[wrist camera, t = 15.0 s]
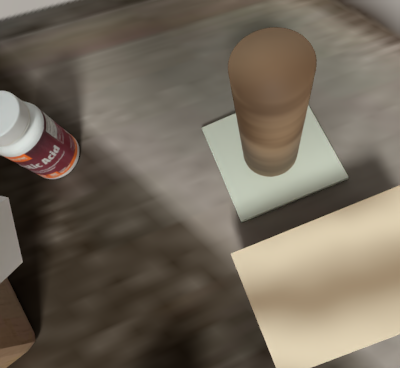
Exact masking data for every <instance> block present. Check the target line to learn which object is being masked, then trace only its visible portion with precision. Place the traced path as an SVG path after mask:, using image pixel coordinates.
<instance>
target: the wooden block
mask: <svg viewBox="0 0 400 368" xmlns="http://www.w3.org/2000/svg"><path fill="white" fill-rule="evenodd" d="M34 342H35V333H34V331H33V329H32V327H31V325H30V323H29V321H28V319H27V317H26V315H25V313H24V311H23V309H22V307H21V305H20V303H19V301H18V299H17V297H16V295H15V292H14V290H13V288H12V286H11V284H10V282H9V280H8V278H6V279H4V280H3V281H2V282H1V283H0V368H7V367H8V366H9V365H11V364H12V363H13V362H14V361H16V360H17V359H18V358H19V357H21V356H22V355H23V354H25V353H26V352H27V351H28V350H29V349H30V348H31V347H32V345H33V344H34Z"/></svg>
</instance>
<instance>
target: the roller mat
mask: <svg viewBox="0 0 400 368" xmlns="http://www.w3.org/2000/svg"><path fill="white" fill-rule="evenodd" d="M202 130H203V133H204V135H205V137H206V140H207V142H208V144H209V147H210V149H211V152H212V154H213V156H214V159H215V161H216V163H217V166H218V168H219V171H220V173H221V175H222V178H223V180H224V182H225V185H226V187H227V190H228V192H229V194H230V197H231V199H232V201H233V204H234V206H235V208H236V211H237V213H238V216H239V218H240V220H241V223H242V222H244V221H247V220H249V219H252V218H254V217H257V216H259V215H262V214H264V213H266V212H269V211H271V210H274V209H276V208H279V207H281V206H283V205H286V204H288V203H291V202H293V201H296V200H298V199H301V198H303V197H305V196H308V195H310V194H313V193H315V192H318V191H320V190H323V189H325V188H327V187H330V186H332V185H335V184H337V183H340V182H342V181H345V180H347V179H348V178H349V177H348V175H347V173H346V171H345V170H344V168H343V166H342V164H341V162H340V161H339V159H338V157H337V155H336V153H335V152H334V150H333V148H332V146H331V145H330V143H329V141H328V139H327V137H326V136H325V134H324V132H323V130H322V128H321V127H320V125H319V123H318V121H317V120H316V118H315V116H314V114H313V112H312V111H311V109H310V107H309V105H308V108H307V113H306V117H305V122H304V126H303V131H302V136H301V140H300V145H299V150H298V154H297V158H296V161H295V163H294V165H293V166H292V167H291V168H290V169H289V170H288V171H287V172H285V173H283V174H281V175H278V176H274V177H266V176H262V175H259V174H257V173H255V172H253V171H252V170H251V169H250V168H249V167H248V166H247V164H246V162H245V160H244V156H243V150H242V145H241V139H240V134H239V128H238V123H237V117H236V113H235V114H232V115H230V116H228V117H225V118H223V119H221V120H218V121H216V122H214V123H211V124H209V125H207V126H204V127H202Z"/></svg>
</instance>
